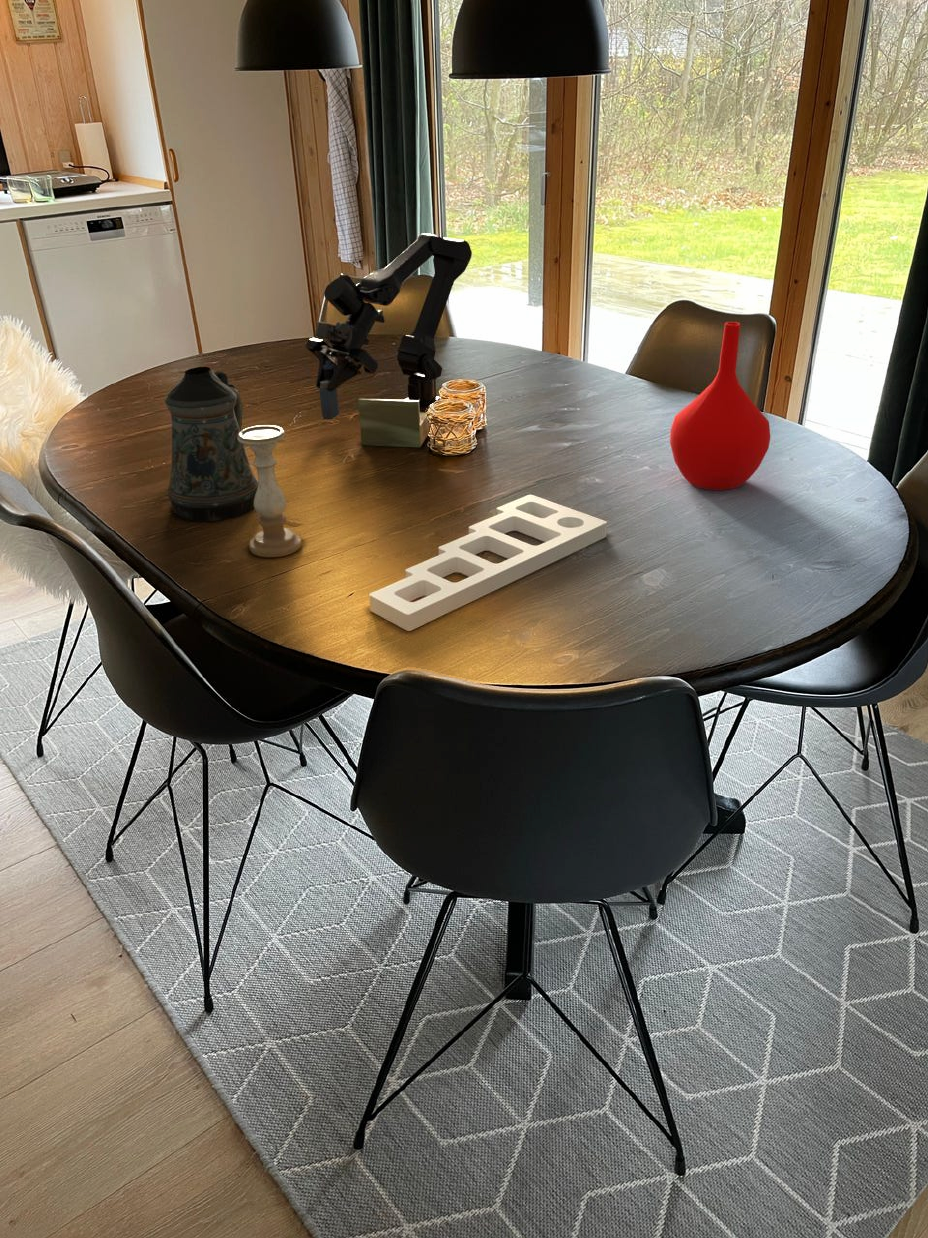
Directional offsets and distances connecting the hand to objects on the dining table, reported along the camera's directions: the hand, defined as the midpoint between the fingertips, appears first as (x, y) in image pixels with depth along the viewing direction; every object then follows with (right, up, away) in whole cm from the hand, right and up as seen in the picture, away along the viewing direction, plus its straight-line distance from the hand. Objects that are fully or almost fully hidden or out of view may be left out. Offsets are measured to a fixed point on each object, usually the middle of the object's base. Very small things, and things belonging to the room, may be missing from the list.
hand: (323, 388), depth 211 cm
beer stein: (-16, -28, -29) cm, 44 cm away
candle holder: (-1, -38, -47) cm, 61 cm away
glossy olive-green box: (+16, -11, 0) cm, 19 cm away
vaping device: (+1, -5, +4) cm, 7 cm away
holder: (+33, -41, -54) cm, 76 cm away
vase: (+79, -24, -25) cm, 87 cm away
